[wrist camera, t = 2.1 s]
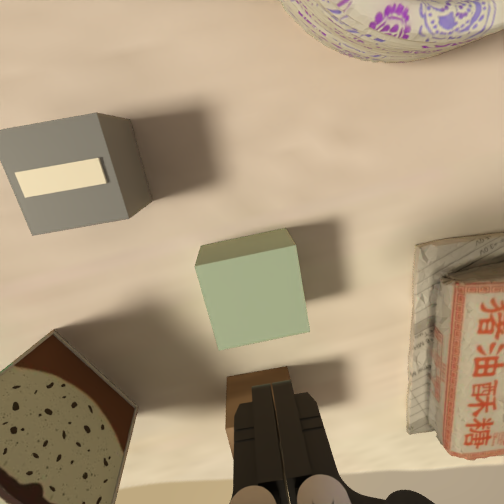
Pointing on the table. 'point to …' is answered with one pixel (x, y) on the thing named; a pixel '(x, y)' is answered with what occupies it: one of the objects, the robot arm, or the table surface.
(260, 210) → the table surface
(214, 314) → the plain sage block
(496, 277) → the packaged product
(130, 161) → the charcoal striped block
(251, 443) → the robot arm
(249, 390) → the walnut striped block
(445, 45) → the paper bowls
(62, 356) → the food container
